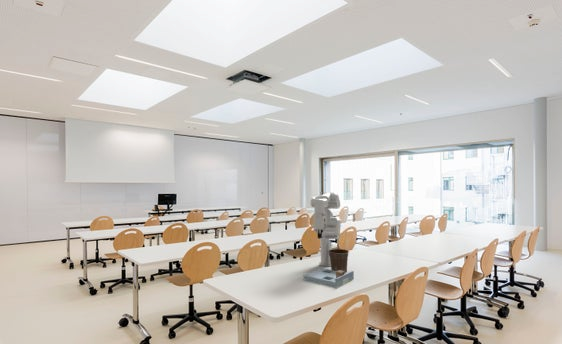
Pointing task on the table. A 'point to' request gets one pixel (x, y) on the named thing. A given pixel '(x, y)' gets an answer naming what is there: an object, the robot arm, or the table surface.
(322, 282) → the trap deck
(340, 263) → the plant pot
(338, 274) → the walnut cube
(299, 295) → the table surface
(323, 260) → the robot arm
